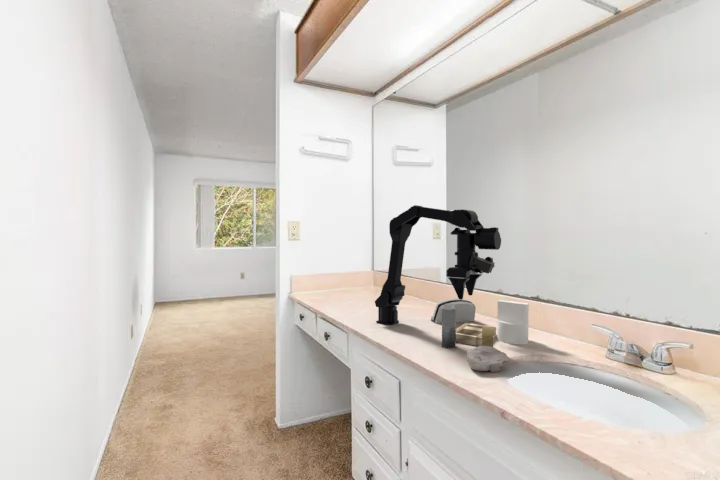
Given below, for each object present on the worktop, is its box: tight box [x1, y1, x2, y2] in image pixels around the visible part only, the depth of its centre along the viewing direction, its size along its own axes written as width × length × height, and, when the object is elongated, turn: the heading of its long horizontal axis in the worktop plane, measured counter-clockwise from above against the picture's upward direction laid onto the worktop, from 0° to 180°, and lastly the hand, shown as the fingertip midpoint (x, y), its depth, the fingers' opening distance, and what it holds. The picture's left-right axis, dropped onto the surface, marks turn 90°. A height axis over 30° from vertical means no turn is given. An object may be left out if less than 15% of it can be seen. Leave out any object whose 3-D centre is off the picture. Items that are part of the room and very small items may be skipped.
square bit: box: [482, 325, 494, 347], centre depth 102 cm, size 3×3×7 cm
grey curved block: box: [430, 298, 477, 324], centre depth 139 cm, size 17×5×10 cm, turn 106°
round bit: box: [441, 303, 457, 349], centre depth 108 cm, size 4×4×12 cm
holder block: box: [456, 322, 497, 347], centre depth 117 cm, size 10×16×2 cm, turn 145°
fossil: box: [466, 346, 510, 373], centre depth 90 cm, size 9×6×10 cm
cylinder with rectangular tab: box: [496, 299, 530, 345], centre depth 114 cm, size 9×9×12 cm
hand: (465, 297), depth 117 cm, fingers open, 9 cm apart
